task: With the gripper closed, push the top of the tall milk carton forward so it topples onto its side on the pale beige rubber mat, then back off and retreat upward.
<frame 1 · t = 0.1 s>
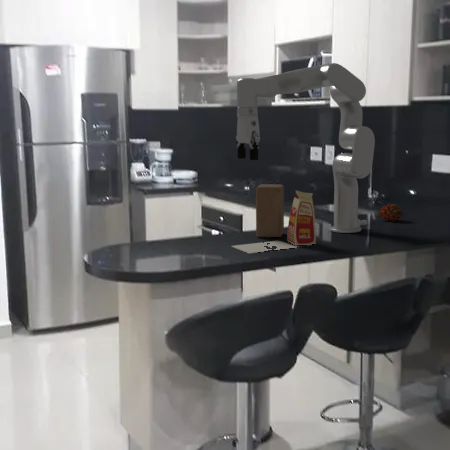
hand: (247, 159, 240), 31 cm above the countertop, tool pointing down, fingers open, 9 cm apart
milk carton: (302, 243, 241), on the countertop
mat: (264, 247, 234), on the countertop
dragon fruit: (389, 221, 286), on the countertop
wooden block: (270, 236, 256), on the countertop
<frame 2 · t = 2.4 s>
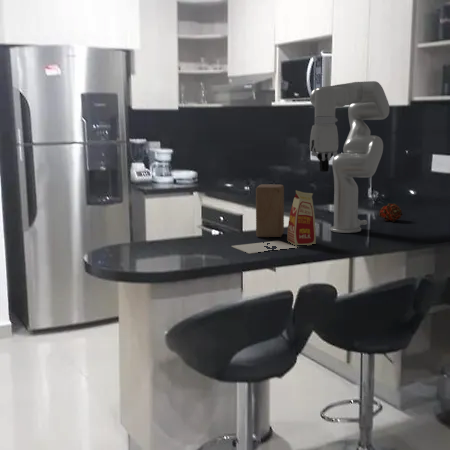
hand: (324, 171, 240), 26 cm above the countertop, tool pointing down, fingers closed
nothing on the countertop moved.
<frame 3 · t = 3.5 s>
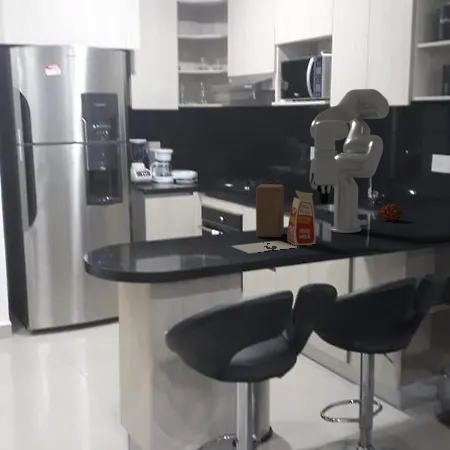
hand: (323, 203, 242), 14 cm above the countertop, tool pointing down, fingers closed
nothing on the countertop moved.
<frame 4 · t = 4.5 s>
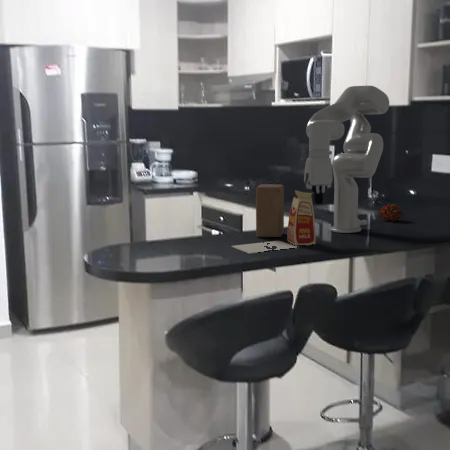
hand: (318, 203, 241), 14 cm above the countertop, tool pointing down, fingers closed
milk carton: (302, 243, 241), on the countertop, touching gripper
everything else where it was.
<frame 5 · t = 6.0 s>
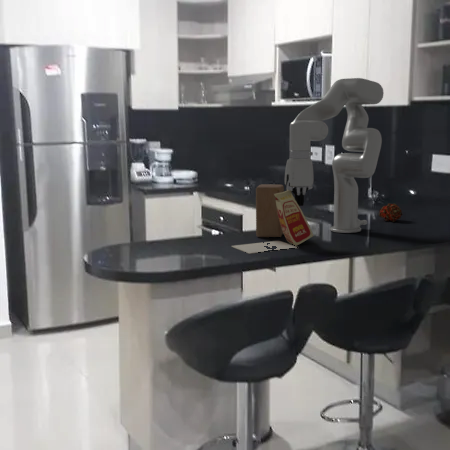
hand: (299, 205, 237), 14 cm above the countertop, tool pointing down, fingers closed
milk carton: (301, 238, 240), point 2 cm above the countertop
everything else where it was.
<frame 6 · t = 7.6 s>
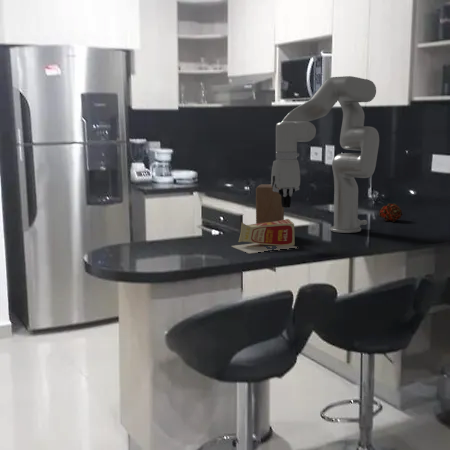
hand: (286, 207, 235), 14 cm above the countertop, tool pointing down, fingers closed
milk carton: (289, 230, 239), point 5 cm above the countertop, touching mat
everything else where it was.
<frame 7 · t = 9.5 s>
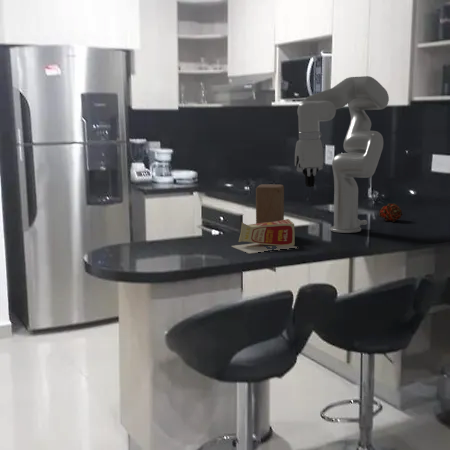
hand: (310, 186, 239), 21 cm above the countertop, tool pointing down, fingers closed
nothing on the countertop moved.
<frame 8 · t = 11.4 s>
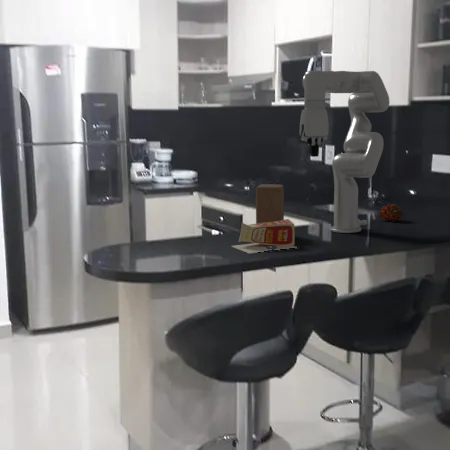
hand: (314, 156, 237), 32 cm above the countertop, tool pointing down, fingers closed
nothing on the countertop moved.
at the end: milk carton tilted 90°; milk carton touching mat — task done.
